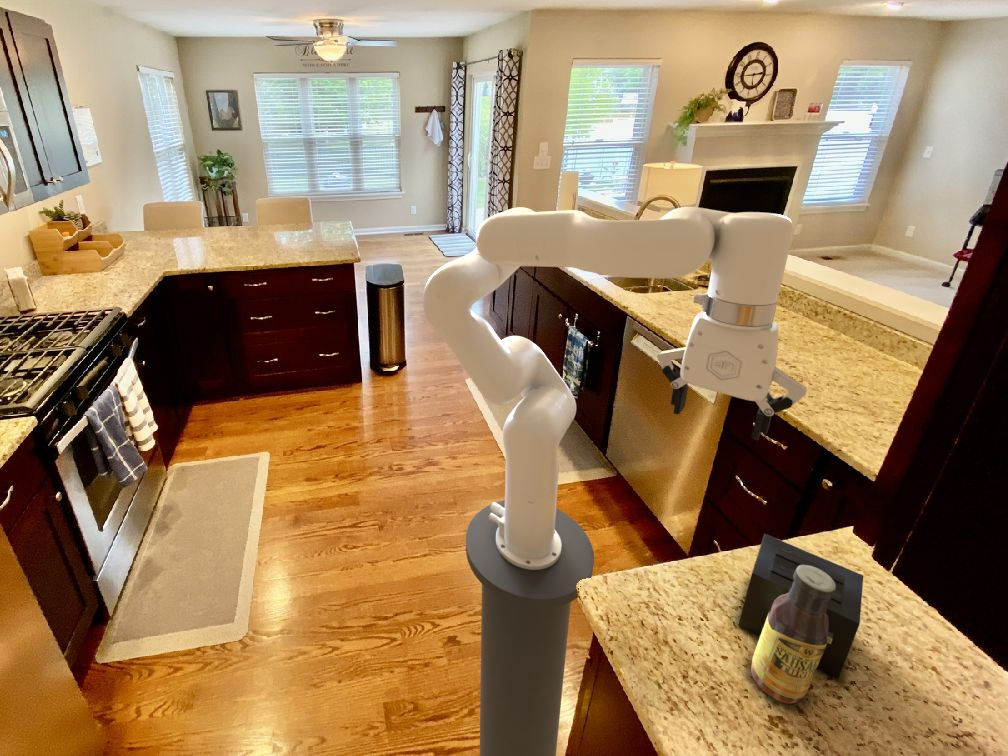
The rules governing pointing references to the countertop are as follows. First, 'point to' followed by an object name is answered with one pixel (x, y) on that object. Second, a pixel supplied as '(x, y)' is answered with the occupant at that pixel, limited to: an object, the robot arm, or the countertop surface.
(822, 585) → the sauce bottle
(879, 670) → the countertop surface
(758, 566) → the toaster
